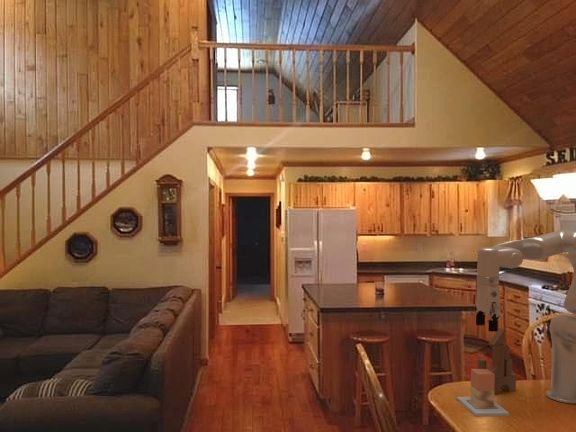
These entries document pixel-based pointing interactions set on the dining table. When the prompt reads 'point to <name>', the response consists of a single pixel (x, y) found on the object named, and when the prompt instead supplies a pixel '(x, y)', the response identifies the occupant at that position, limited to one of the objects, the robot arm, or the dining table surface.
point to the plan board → (482, 411)
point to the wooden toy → (500, 364)
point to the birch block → (482, 398)
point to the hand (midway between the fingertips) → (486, 328)
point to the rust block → (482, 379)
